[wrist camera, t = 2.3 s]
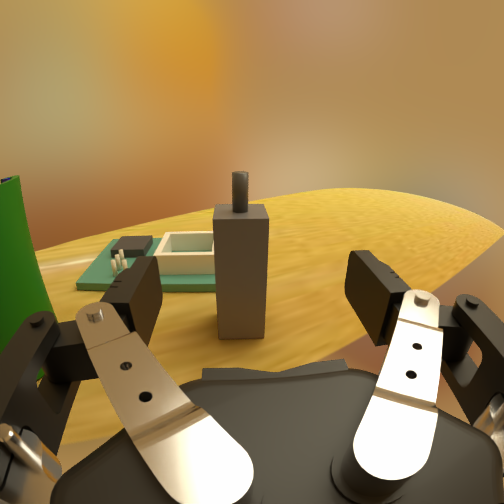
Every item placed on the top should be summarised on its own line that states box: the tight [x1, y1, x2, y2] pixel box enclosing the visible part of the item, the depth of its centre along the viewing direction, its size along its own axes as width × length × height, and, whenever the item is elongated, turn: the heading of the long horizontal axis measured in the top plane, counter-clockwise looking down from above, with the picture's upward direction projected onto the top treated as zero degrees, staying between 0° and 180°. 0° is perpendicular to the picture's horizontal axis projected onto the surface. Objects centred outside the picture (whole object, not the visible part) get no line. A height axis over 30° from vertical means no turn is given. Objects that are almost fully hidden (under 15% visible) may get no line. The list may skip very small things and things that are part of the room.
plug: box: [213, 171, 269, 339], centre depth 25 cm, size 4×5×14 cm
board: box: [76, 231, 216, 292], centre depth 38 cm, size 20×14×4 cm
